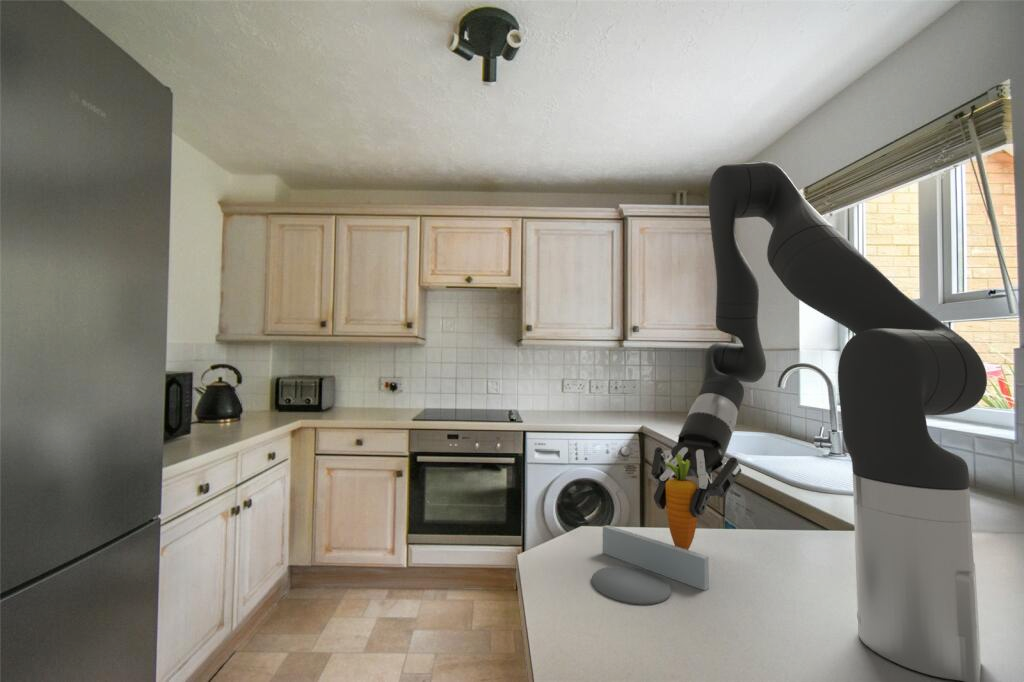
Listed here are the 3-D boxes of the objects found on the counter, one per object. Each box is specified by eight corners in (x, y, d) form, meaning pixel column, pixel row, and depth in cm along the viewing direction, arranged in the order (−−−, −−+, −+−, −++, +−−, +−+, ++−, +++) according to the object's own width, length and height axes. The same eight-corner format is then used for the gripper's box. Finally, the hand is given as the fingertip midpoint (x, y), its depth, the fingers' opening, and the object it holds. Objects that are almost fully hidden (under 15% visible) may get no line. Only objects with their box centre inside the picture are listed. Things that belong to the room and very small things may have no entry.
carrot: (694, 565, 64) (693, 459, 66) (660, 556, 67) (659, 455, 69) (703, 555, 68) (702, 455, 70) (670, 547, 71) (670, 452, 73)
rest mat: (685, 588, 58) (684, 585, 58) (644, 613, 51) (644, 609, 51) (619, 563, 65) (619, 560, 65) (576, 582, 59) (576, 579, 59)
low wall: (708, 588, 58) (708, 556, 59) (704, 590, 58) (704, 558, 58) (606, 551, 70) (607, 525, 70) (602, 553, 69) (602, 526, 70)
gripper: (662, 408, 80) (625, 485, 71) (747, 413, 70) (716, 505, 60) (676, 436, 83) (642, 513, 74) (759, 445, 73) (732, 537, 64)
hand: (676, 509), depth 67 cm, fingers closed on carrot, 5 cm apart
